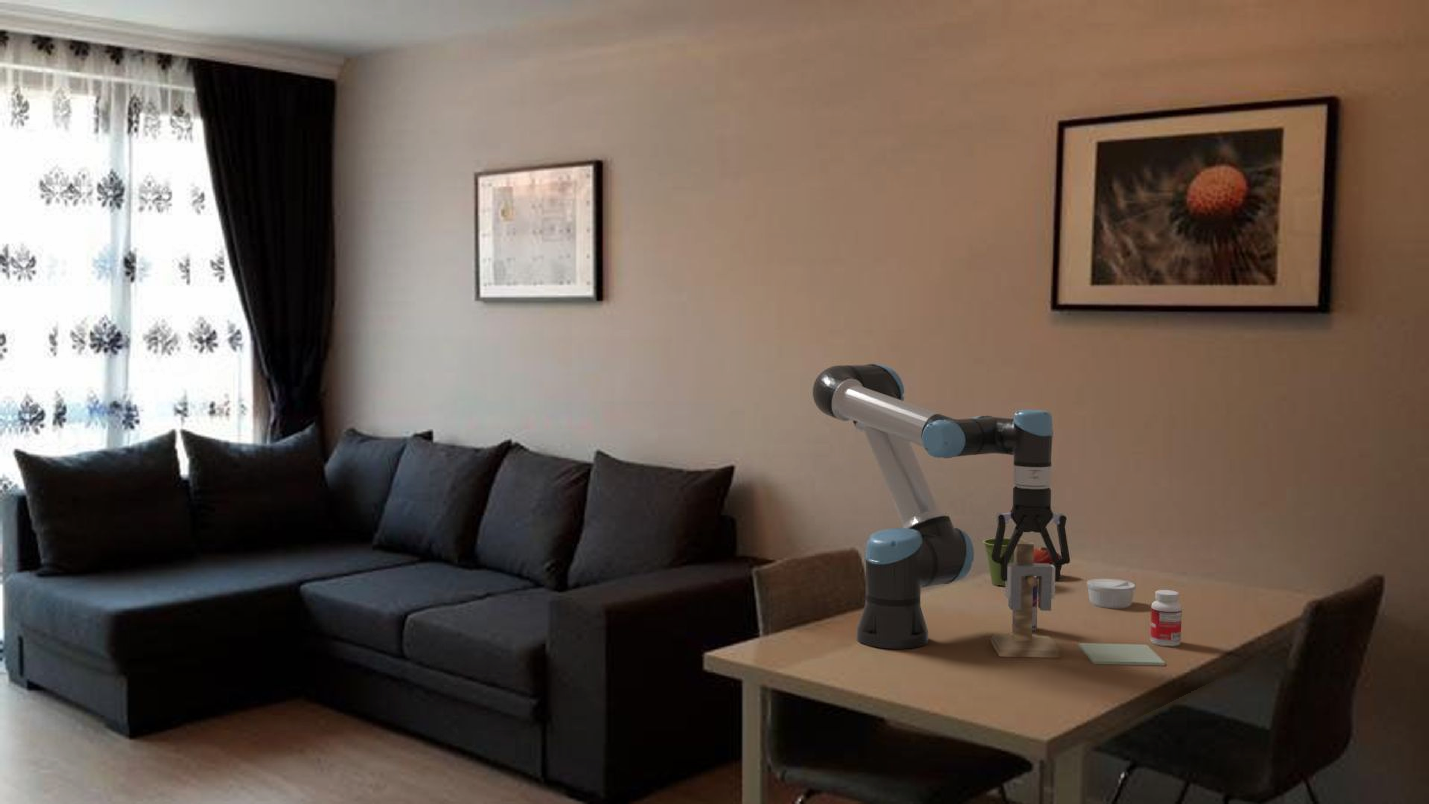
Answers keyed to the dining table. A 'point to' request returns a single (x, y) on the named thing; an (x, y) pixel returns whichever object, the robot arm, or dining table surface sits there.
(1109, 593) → the ramekin
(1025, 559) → the stand
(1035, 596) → the energy drink
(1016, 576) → the c link
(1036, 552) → the tomato
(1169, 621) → the pill bottle
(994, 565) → the plant pot
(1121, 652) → the mat
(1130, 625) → the dining table surface
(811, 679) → the dining table surface
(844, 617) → the dining table surface
